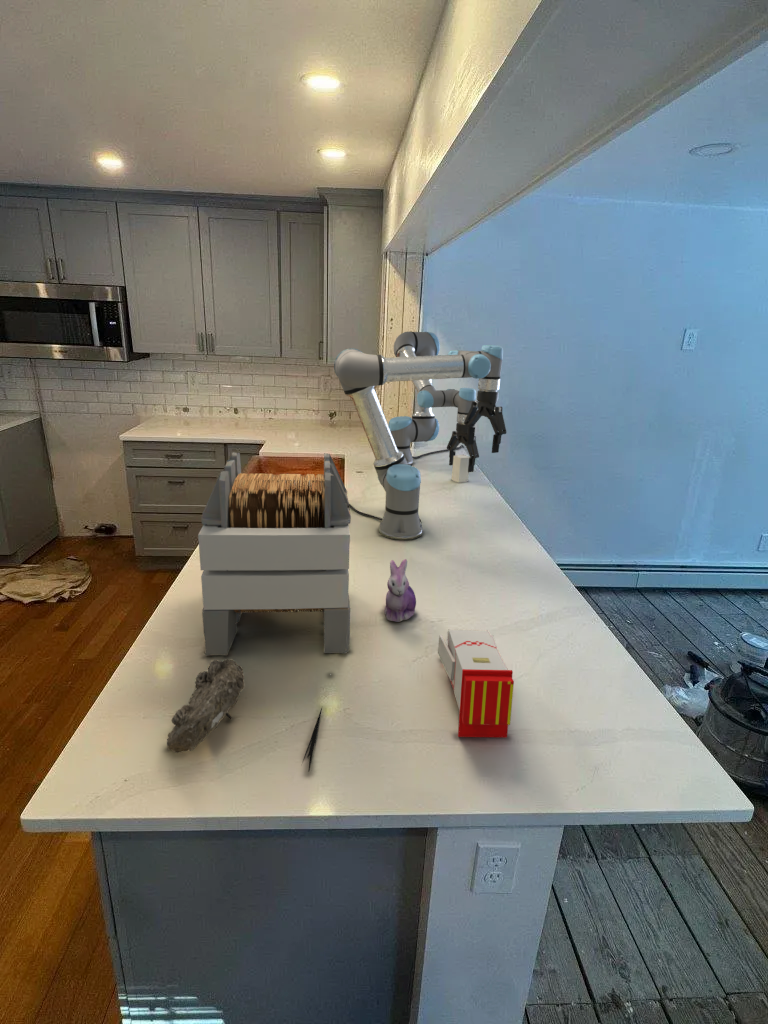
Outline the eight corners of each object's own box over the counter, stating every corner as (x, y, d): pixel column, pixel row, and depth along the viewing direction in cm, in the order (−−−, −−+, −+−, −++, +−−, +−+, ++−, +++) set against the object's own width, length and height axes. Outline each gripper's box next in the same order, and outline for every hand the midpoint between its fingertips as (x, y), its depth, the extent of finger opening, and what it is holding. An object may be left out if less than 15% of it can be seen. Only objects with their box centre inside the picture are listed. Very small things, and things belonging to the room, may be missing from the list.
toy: (488, 613, 130) (523, 677, 101) (484, 667, 133) (517, 744, 104) (435, 612, 130) (455, 676, 101) (432, 666, 133) (451, 743, 103)
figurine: (392, 627, 141) (395, 572, 136) (374, 608, 149) (376, 556, 144) (425, 619, 145) (429, 566, 140) (405, 601, 154) (408, 550, 149)
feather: (331, 679, 122) (336, 673, 122) (307, 777, 96) (313, 769, 95) (324, 675, 122) (329, 669, 121) (298, 772, 95) (304, 764, 95)
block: (458, 482, 263) (460, 458, 259) (451, 479, 266) (453, 455, 263) (467, 481, 266) (470, 457, 262) (460, 478, 270) (463, 454, 266)
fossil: (192, 660, 117) (244, 628, 112) (224, 691, 120) (276, 661, 115) (142, 746, 98) (202, 712, 93) (182, 779, 101) (242, 748, 96)
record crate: (226, 586, 157) (217, 442, 143) (344, 585, 161) (346, 445, 147) (202, 658, 125) (189, 482, 112) (350, 654, 129) (354, 483, 115)
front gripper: (521, 395, 195) (513, 455, 202) (473, 385, 215) (467, 440, 222) (505, 395, 191) (498, 457, 198) (457, 386, 211) (453, 442, 218)
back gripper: (490, 427, 249) (485, 474, 256) (453, 417, 269) (450, 461, 276) (477, 428, 245) (472, 475, 252) (441, 418, 265) (438, 463, 272)
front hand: (482, 448), depth 210 cm, fingers open, 13 cm apart
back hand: (460, 468), depth 264 cm, fingers open, 13 cm apart
